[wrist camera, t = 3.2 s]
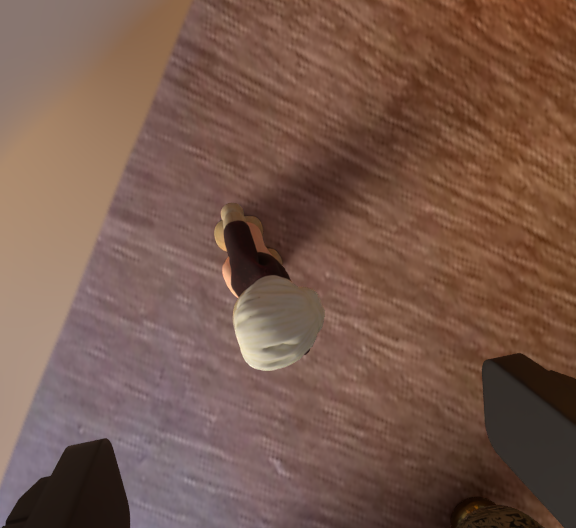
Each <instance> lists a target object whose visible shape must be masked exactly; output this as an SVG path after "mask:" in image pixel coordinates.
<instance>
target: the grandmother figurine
mask: <svg viewBox="0 0 576 528" xmlns="http://www.w3.org/2000/svg"><path fill="white" fill-rule="evenodd" d="M221 218H222V220H221V221H220V222H219V223H218V224H217V225H216V227H215V232H214V235H215V240H216V242H217V244H218V246H219V247H220V248H221V249H222V250H224V251H226V252H228V255H229V257H228V258H227V259H226V261H225V263H224V265H223V277H224V279H225V281H226V284H227V286H228V288H229V289H230V290H231V292H232V293H233V294H234V295H235V296H236V297H238V300H237V302H236V304H235V307H234V311H233V325H234V328H235V333H236V336H237V341H238V343H239V345H240V349H241V352H242V355H243V357H244V359H245V361H246V362H247V363H248V364H249V365H250V366H251V367H253V368H255V369H258V370H266V371H269V370H275V369H280V368H283V367H287V366H289V365H291V364H292V363H294V362H296V361H298V360H299V359H300V358H301V357H302V356H303V355H306V354H307V353H308V352H309V350H310V348H311V347H313V344H314V342H315V340H316V337H317V333H318V332H319V331H320V330H321V328H322V326H323V322H324V317H325V310H324V308H323V306H322V304H321V300H320V298H319V296H318V294H317V293H316V292H315V291H314V290H313V289H311V288H307V287H298V286H296V285H295V284H294V283H292V282H291V280H290V278H289V275H288V273H287V272H286V271H285V268H284V267H283V266H282V259H281V257H280V255H279V254H278V252H277V251H275V250H274V249H271V248H266V246H265V245H264V242H263V237H262V236H263V227H262V224H261V222H260V220H259V219H258V218H256V217H254V216H244V211H243V209H242V207H241V206H240V205H238V204H236V203H228V204H226V205H225V206H224V207H223V208H222V210H221Z"/></svg>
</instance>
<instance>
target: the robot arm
mask: <svg viewBox="0 0 576 528" xmlns="http://www.w3.org/2000/svg"><path fill="white" fill-rule="evenodd" d="M482 381H483V398H484V414H485V426H486V431H487V435H488V438H489V440H490V442H491V445H492V446H493V448H494V450H495V451H496V453H497V454H498V455H499V456H500V457H501V459H502V460H503V461H504V462H505V463H506V464H507V465H508V466H509V467H510V468H511V470H512V471H513V472H514V473H515V474H516V475H517V476H518V477H519V478H520V479H521V481H522V482H523V483H524V484H525V485H526V486H527V487H528V488H529V489H530V490H531V492H532V493H533V494H534V495H535V496H536V497H537V498H538V499H539V500H540V502H541V503H542V504H543V505H544V506H545V507H546V508H547V509H548V510H549V511H550V513H551V514H552V515H553V516H554V517H555V518H556V519H557V520H558V521H559V522H560V524H561V525H562V526H563V527H564V528H576V379H575V378H572V377H569V376H566V375H563V374H561V373H558V372H555V371H552V370H550V371H548V370H546V369H545V368H543V367H542V366H540V365H539V364H537V363H536V362H534V361H533V360H531V359H530V358H528V357H527V356H525V355H523V354H521V353H517V354H512V355H507V356H503V357H498V358H493V359H488V360H485V361H484V363H483V366H482ZM2 528H130V511H129V505H128V500H127V497H126V493H125V489H124V486H123V482H122V479H121V475H120V471H119V468H118V464H117V461H116V457H115V454H114V450H113V447H112V444H111V442H110V441H109V440H108V439H107V438H105V439H100V440H95V441H90V442H85V443H81V444H76V445H71V446H68V447H67V448H66V449H65V450H64V452H63V454H62V456H61V458H60V460H59V462H58V463H57V465H56V467H55V469H54V471H53V473H52V475H51V476H48V477H44V478H41V479H39V480H38V481H37V482H36V483H35V484H34V485H33V486H32V487H31V488H30V489H29V490H28V491H27V492H26V493H25V494H24V495H23V496H22V497H21V498H20V499H19V500H18V501H17V503H16V505H15V506H14V508H13V510H12V512H11V513H10V515H9V517H8V518H7V520H6V525H5V526H3V527H2Z"/></svg>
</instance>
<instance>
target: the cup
mask: <svg viewBox="0 0 576 528" xmlns="http://www.w3.org/2000/svg"><path fill="white" fill-rule="evenodd" d="M451 528H544V527H543V526H541V525H540V524H539V523H538V522H536V521H535V520H534V519H533V518H531V517H530V516H528V515H527V514H525V513H523V512H521V511H519V510H517V509H514V508H511V507H508V506H502V505H496V504H495V503H494V502H492V501H490V500H488V499H486V498H483V497H471V498H468V499H465V500H464V501H462V502H461V503H459V504H458V505H457V506H456V508H455V509H454V511H453V513H452V515H451Z"/></svg>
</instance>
